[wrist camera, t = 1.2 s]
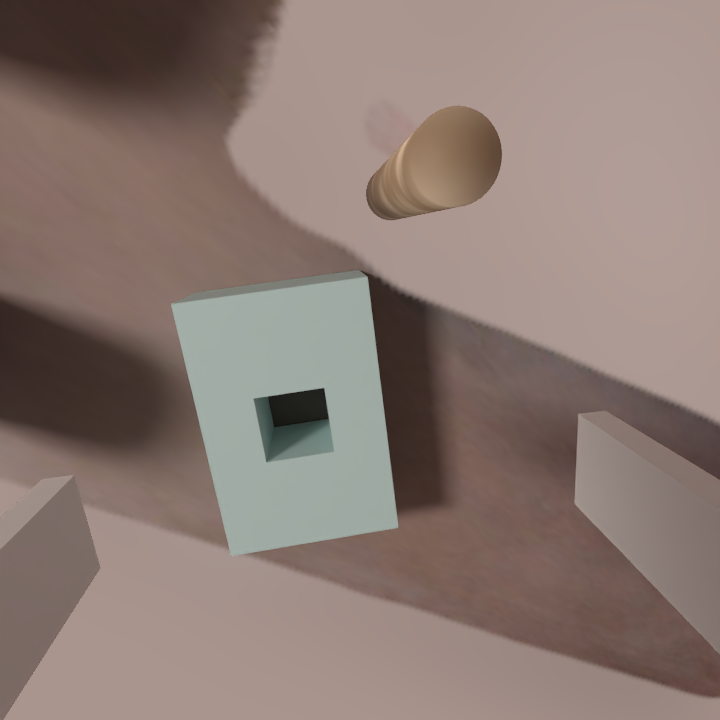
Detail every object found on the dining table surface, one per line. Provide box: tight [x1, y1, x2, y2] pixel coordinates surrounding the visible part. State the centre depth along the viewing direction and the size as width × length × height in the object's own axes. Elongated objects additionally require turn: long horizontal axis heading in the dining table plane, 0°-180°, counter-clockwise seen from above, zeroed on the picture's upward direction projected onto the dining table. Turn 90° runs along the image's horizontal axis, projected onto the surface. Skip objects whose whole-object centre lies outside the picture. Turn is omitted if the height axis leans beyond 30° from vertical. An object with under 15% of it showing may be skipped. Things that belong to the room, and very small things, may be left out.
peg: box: [366, 106, 502, 220], centre depth 26 cm, size 4×4×16 cm
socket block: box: [171, 270, 398, 556], centre depth 34 cm, size 18×12×6 cm, turn 7°
